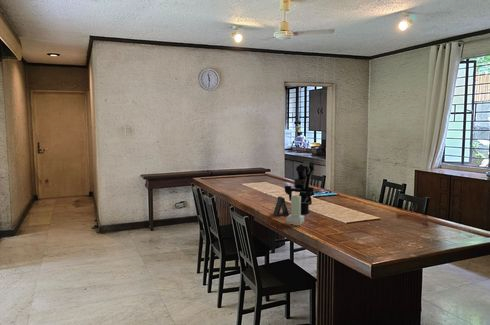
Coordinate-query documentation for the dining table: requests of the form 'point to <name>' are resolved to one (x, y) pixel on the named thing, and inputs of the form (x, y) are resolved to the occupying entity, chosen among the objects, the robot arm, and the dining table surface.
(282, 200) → the phone stand
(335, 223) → the dining table surface
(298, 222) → the base slab
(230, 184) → the dining table surface
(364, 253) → the dining table surface
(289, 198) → the robot arm
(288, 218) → the top slab
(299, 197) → the pillar
